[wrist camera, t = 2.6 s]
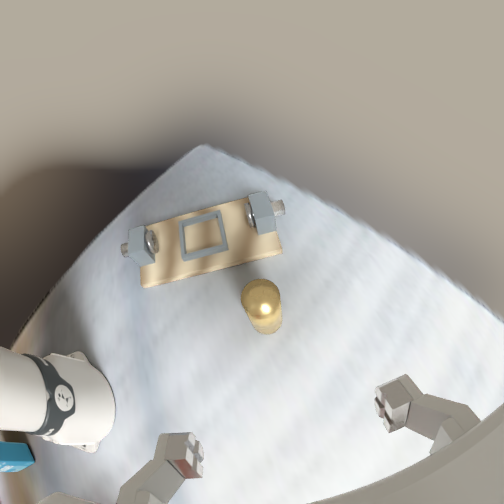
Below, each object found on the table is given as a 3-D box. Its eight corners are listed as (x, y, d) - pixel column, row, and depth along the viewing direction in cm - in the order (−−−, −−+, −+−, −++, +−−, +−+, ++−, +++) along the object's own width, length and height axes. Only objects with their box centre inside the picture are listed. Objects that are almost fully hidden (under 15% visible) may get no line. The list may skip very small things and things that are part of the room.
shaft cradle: (134, 290, 44) (117, 276, 39) (134, 235, 50) (120, 217, 45) (294, 250, 44) (294, 229, 39) (274, 196, 50) (272, 173, 45)
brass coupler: (255, 337, 38) (245, 319, 30) (249, 309, 40) (237, 284, 32) (285, 329, 38) (284, 309, 30) (278, 302, 40) (274, 274, 32)
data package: (17, 472, 25) (-20, 471, 15) (10, 455, 27) (-27, 451, 17) (37, 461, 28) (-5, 461, 17) (29, 442, 30) (-13, 439, 19)
